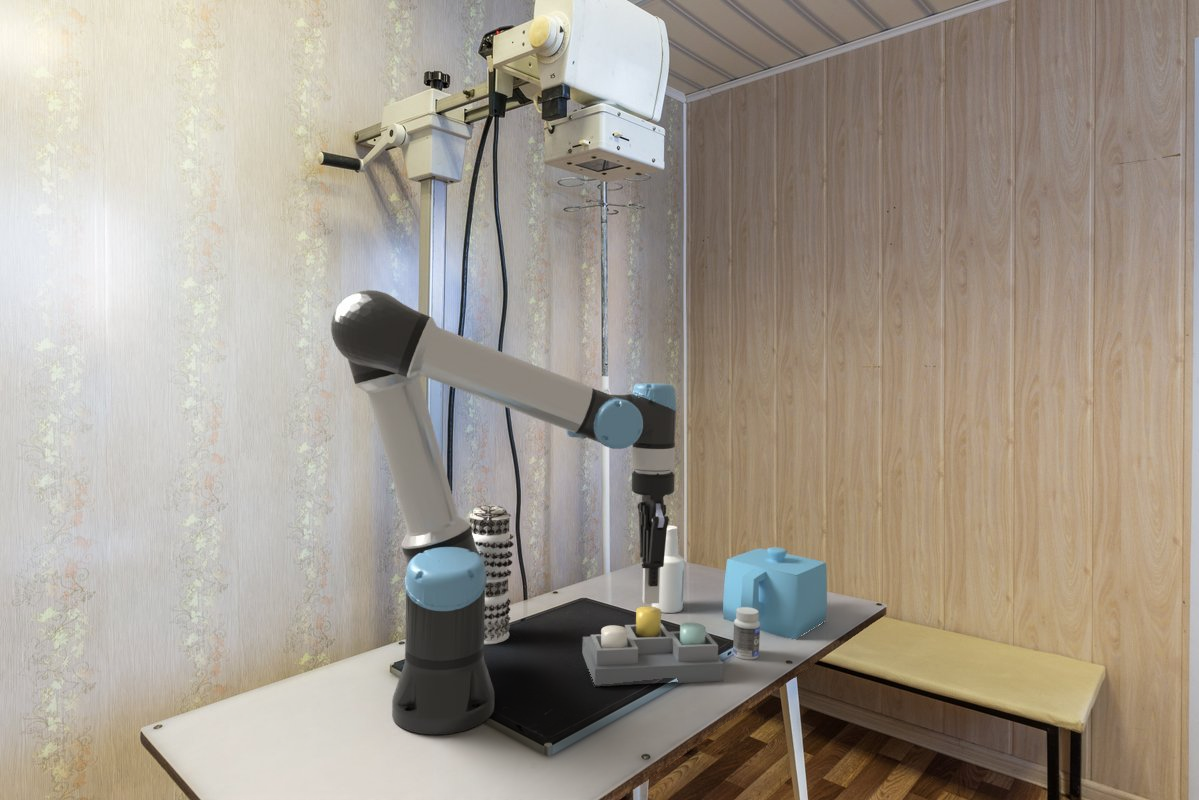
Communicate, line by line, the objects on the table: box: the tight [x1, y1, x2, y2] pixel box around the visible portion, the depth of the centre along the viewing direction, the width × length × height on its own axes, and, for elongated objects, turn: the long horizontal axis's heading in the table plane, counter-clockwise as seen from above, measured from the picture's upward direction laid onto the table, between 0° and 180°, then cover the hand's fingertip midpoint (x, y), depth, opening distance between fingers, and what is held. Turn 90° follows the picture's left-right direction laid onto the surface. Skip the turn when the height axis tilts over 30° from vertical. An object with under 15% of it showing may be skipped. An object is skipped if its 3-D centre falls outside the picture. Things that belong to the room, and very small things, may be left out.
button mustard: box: [635, 605, 662, 637], centre depth 128 cm, size 4×4×4 cm
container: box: [722, 546, 828, 640], centre depth 151 cm, size 17×25×15 cm
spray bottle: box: [651, 524, 685, 614], centre depth 156 cm, size 7×7×18 cm
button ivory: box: [600, 624, 627, 648], centre depth 123 cm, size 4×4×4 cm
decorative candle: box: [467, 504, 514, 645], centre depth 138 cm, size 9×9×25 cm
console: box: [581, 623, 725, 685], centre depth 126 cm, size 22×14×6 cm, turn 100°
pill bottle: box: [732, 607, 761, 660], centre depth 132 cm, size 5×5×8 cm
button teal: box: [679, 622, 707, 645], centre depth 125 cm, size 4×4×4 cm
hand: (650, 601), depth 128 cm, fingers closed
